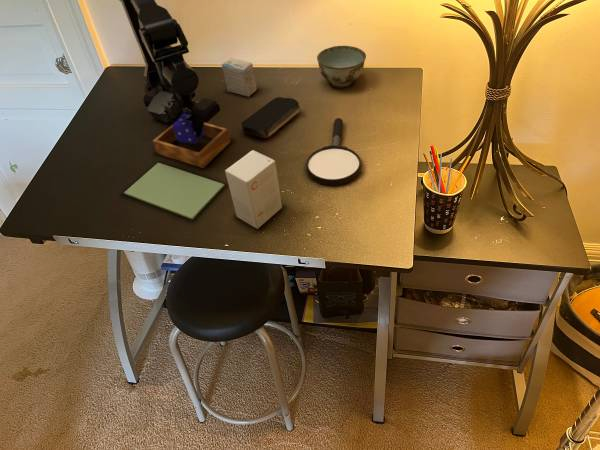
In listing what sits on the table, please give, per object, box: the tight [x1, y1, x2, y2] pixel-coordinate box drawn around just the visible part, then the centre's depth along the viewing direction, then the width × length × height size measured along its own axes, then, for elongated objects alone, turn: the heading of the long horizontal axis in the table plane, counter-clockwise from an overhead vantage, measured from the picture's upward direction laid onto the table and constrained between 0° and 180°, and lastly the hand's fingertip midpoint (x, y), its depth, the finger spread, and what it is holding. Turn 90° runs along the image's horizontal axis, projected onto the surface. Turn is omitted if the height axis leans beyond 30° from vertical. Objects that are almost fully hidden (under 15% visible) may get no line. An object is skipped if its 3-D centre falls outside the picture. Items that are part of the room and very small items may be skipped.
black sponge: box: [240, 96, 300, 138], centre depth 121 cm, size 16×8×4 cm, turn 144°
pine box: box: [152, 122, 231, 169], centre depth 116 cm, size 15×12×4 cm
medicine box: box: [221, 57, 258, 98], centre depth 132 cm, size 8×4×9 cm, turn 58°
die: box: [173, 113, 204, 145], centre depth 113 cm, size 5×5×5 cm
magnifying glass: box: [306, 117, 362, 186], centre depth 110 cm, size 12×24×2 cm, turn 173°
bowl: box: [316, 45, 367, 88], centre depth 131 cm, size 14×13×8 cm
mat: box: [123, 162, 226, 221], centre depth 106 cm, size 20×12×1 cm, turn 61°
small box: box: [224, 149, 283, 230], centre depth 94 cm, size 8×6×13 cm
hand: (190, 133), depth 114 cm, fingers closed on die, 5 cm apart
